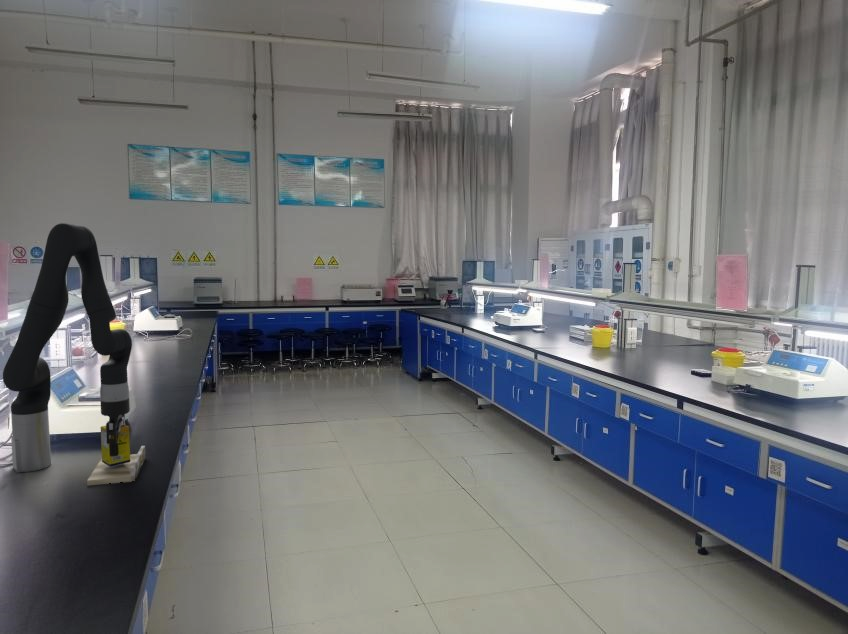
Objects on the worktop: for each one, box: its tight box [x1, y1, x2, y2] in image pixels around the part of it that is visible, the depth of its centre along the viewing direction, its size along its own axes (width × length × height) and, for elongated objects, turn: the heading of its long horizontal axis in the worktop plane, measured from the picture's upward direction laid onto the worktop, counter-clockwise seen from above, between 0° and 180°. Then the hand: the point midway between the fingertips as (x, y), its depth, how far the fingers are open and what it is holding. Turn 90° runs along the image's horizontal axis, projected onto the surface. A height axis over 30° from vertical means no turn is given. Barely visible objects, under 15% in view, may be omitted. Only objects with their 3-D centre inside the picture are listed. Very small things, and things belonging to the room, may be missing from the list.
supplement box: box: [100, 424, 131, 467], centre depth 176 cm, size 6×6×11 cm
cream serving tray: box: [86, 445, 146, 486], centre depth 177 cm, size 20×12×4 cm, turn 17°
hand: (117, 451), depth 176 cm, fingers closed on supplement box, 8 cm apart
